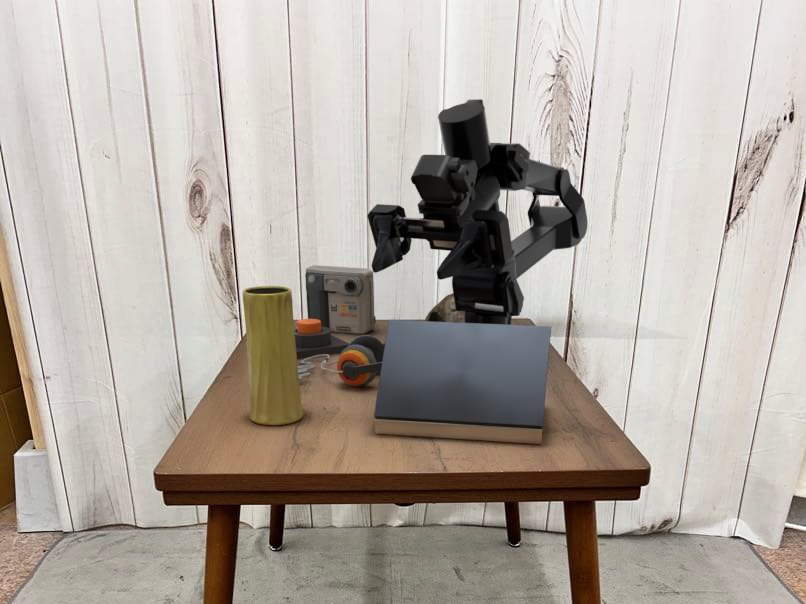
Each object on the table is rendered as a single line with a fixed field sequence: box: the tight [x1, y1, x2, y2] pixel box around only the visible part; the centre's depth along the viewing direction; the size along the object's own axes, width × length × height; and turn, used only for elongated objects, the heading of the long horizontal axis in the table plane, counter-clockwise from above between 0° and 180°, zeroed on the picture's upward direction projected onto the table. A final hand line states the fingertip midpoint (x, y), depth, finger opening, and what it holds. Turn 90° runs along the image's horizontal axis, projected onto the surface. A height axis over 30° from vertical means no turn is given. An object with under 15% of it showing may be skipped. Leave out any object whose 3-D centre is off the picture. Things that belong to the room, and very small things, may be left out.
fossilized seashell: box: [424, 292, 465, 323], centre depth 129 cm, size 8×7×10 cm
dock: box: [294, 326, 350, 360], centre depth 117 cm, size 10×8×3 cm
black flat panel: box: [373, 319, 552, 429], centre depth 85 cm, size 12×18×1 cm
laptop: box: [374, 419, 544, 445], centre depth 89 cm, size 12×18×2 cm, turn 80°
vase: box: [242, 285, 304, 426], centre depth 87 cm, size 6×6×14 cm
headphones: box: [297, 334, 385, 387], centre depth 103 cm, size 17×5×20 cm
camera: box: [304, 264, 377, 335], centre depth 128 cm, size 11×6×10 cm, turn 67°
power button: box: [295, 318, 321, 334], centre depth 116 cm, size 4×4×2 cm
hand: (405, 272), depth 93 cm, fingers open, 9 cm apart
